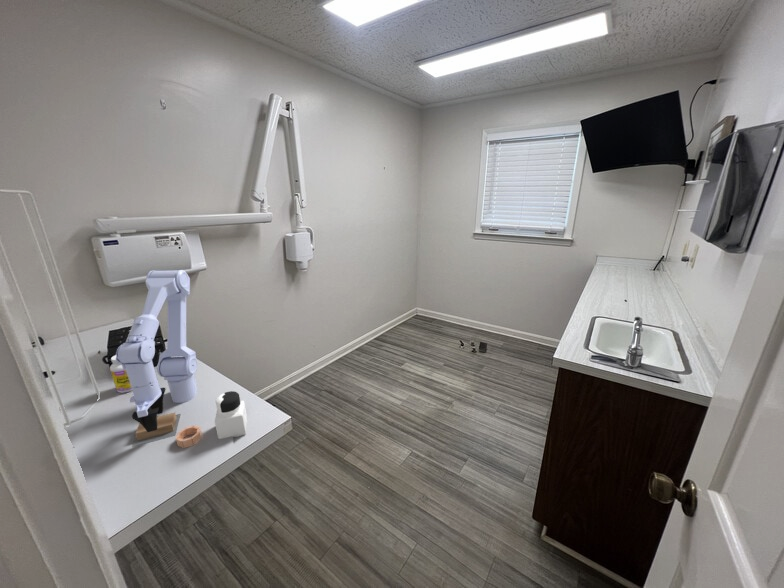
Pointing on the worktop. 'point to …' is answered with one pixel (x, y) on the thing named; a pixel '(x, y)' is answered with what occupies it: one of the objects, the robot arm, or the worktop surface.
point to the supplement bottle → (120, 377)
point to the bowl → (189, 441)
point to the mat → (158, 437)
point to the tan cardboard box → (158, 426)
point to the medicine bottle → (230, 415)
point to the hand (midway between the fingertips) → (155, 421)
